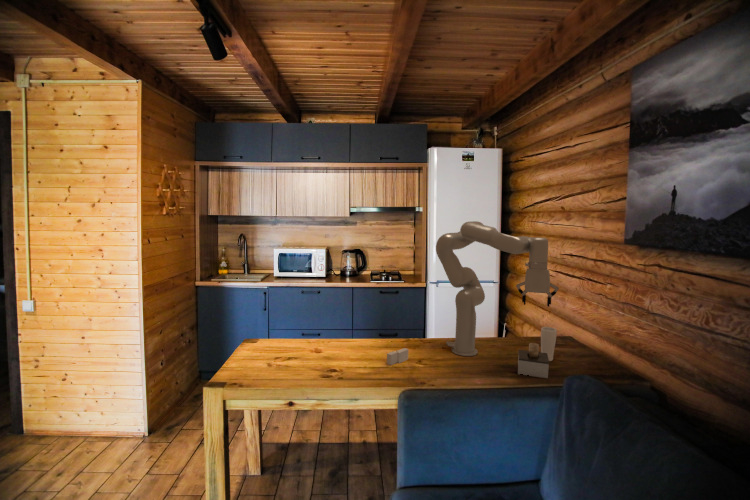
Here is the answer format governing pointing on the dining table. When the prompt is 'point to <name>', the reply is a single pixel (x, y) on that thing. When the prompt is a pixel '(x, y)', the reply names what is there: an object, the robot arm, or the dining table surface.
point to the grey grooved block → (397, 356)
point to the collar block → (533, 364)
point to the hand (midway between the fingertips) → (536, 305)
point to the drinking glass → (548, 341)
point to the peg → (533, 350)
